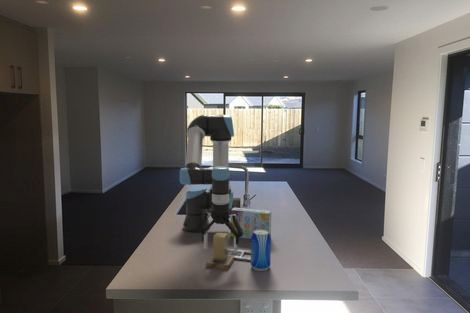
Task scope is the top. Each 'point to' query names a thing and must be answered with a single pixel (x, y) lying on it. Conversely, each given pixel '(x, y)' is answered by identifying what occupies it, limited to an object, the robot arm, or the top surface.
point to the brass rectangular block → (220, 246)
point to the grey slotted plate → (239, 254)
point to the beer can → (260, 250)
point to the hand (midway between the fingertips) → (220, 249)
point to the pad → (220, 262)
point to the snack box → (251, 221)
